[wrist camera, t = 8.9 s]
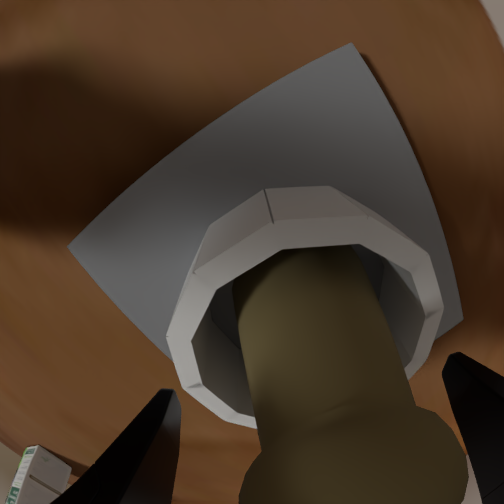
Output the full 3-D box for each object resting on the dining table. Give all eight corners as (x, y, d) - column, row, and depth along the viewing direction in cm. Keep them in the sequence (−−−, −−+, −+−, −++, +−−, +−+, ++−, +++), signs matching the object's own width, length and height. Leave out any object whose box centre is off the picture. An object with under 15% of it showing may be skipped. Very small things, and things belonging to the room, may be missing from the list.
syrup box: (37, 443, 23) (5, 528, 10) (74, 468, 25) (49, 551, 12) (26, 446, 24) (-4, 521, 11) (59, 469, 26) (35, 543, 13)
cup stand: (256, 418, 18) (258, 479, 14) (76, 238, 13) (18, 288, 8) (455, 310, 15) (497, 360, 11) (343, 48, 10) (397, 11, 5)
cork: (388, 282, 13) (516, 486, 3) (299, 361, 15) (335, 568, 5) (298, 197, 11) (473, 504, 1) (204, 300, 13) (159, 567, 3)
